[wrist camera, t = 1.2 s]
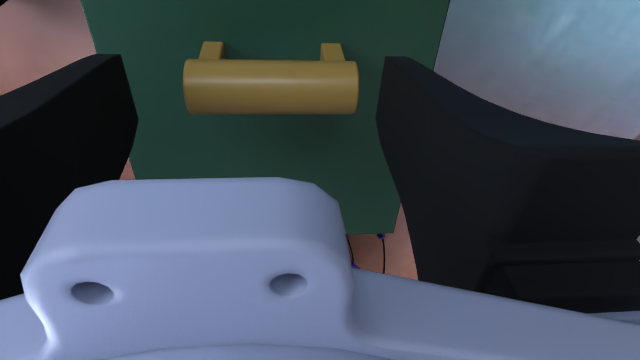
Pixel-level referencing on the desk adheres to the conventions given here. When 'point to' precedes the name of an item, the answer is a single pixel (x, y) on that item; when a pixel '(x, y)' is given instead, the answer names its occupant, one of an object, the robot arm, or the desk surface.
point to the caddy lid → (267, 89)
